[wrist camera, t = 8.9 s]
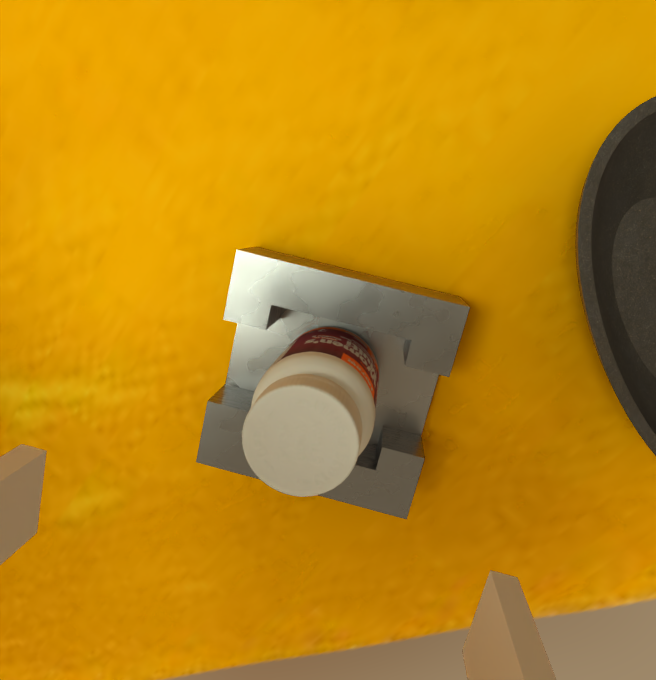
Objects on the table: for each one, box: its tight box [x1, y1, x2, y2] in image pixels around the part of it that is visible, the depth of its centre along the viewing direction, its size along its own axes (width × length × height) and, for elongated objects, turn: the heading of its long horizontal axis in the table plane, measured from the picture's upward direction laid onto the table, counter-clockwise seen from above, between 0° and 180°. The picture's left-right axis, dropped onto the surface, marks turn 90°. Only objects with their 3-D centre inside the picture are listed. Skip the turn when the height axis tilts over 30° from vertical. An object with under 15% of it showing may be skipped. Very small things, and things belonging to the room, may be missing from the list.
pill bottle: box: [242, 326, 379, 497], centre depth 28 cm, size 6×6×11 cm
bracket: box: [196, 247, 470, 519], centre depth 32 cm, size 13×13×4 cm
